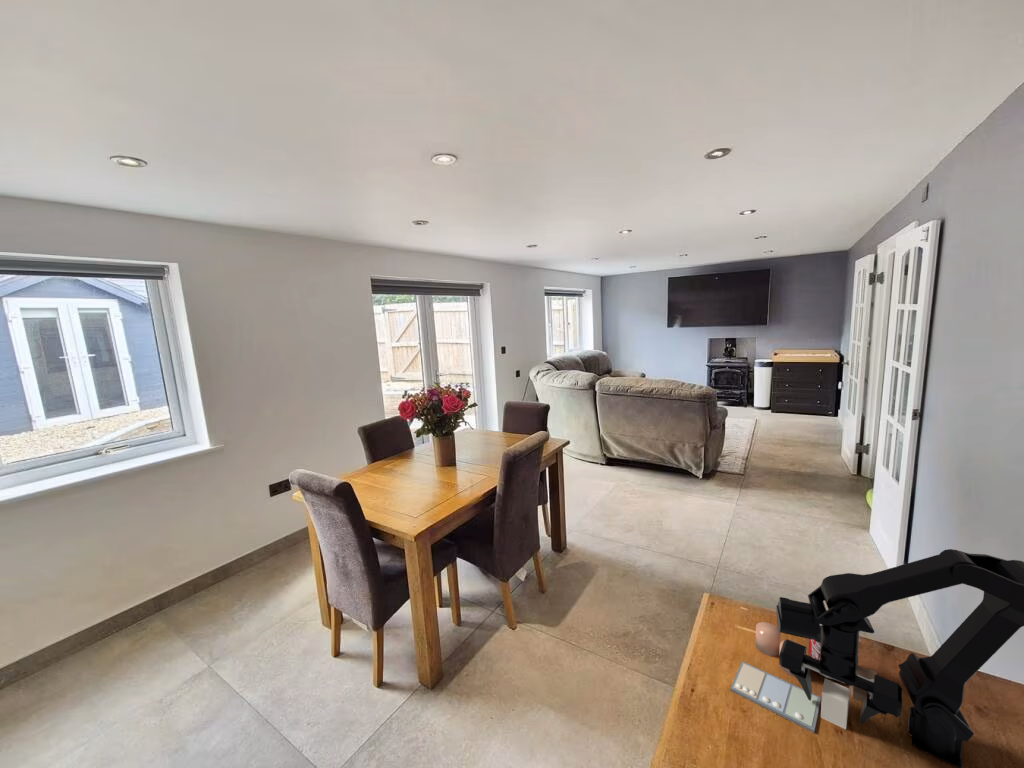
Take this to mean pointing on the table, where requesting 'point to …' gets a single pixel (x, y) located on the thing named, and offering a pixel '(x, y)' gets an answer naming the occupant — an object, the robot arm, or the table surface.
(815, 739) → the table surface
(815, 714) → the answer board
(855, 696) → the brown cube
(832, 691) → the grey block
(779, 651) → the pink egg
